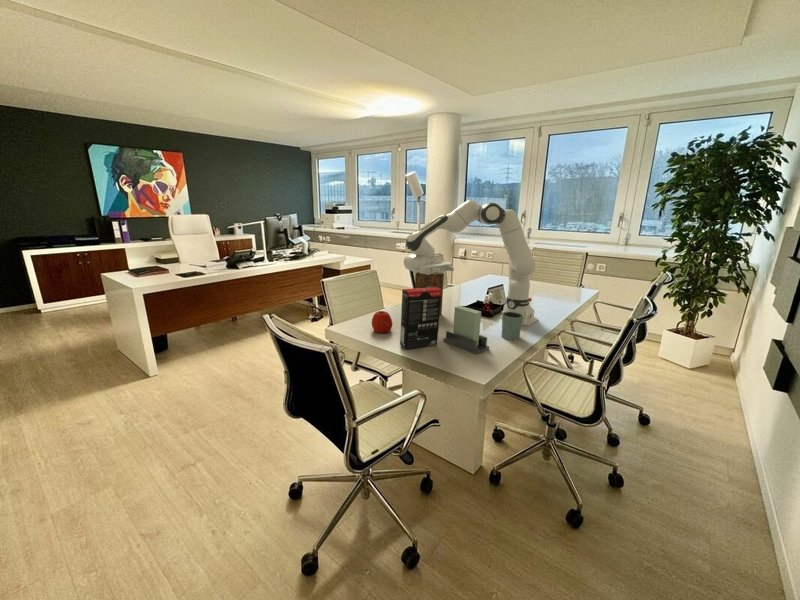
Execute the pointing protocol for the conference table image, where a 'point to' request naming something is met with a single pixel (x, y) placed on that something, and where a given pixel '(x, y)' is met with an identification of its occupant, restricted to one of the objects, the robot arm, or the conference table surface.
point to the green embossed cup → (511, 325)
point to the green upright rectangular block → (467, 323)
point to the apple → (382, 322)
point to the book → (430, 282)
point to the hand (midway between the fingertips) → (446, 270)
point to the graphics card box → (420, 317)
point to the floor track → (467, 342)
